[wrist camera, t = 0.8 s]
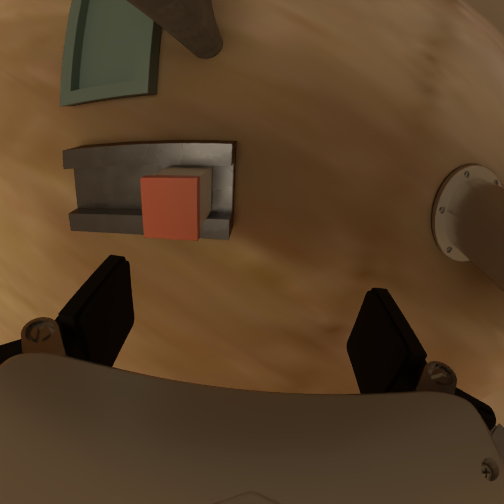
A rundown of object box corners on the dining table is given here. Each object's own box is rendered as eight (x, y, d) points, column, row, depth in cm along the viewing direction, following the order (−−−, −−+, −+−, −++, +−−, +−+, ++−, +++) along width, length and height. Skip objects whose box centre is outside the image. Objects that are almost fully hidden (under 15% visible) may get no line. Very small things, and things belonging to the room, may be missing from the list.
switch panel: (236, 141, 28) (232, 144, 25) (233, 225, 32) (228, 239, 28) (82, 145, 28) (62, 150, 25) (88, 218, 32) (71, 230, 29)
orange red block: (214, 163, 27) (197, 178, 20) (213, 212, 29) (197, 240, 22) (169, 163, 27) (140, 177, 21) (170, 210, 29) (144, 237, 23)
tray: (178, -70, 16) (172, -79, 14) (156, 94, 26) (147, 92, 24) (96, -49, 17) (87, -56, 14) (72, 106, 26) (59, 106, 24)
